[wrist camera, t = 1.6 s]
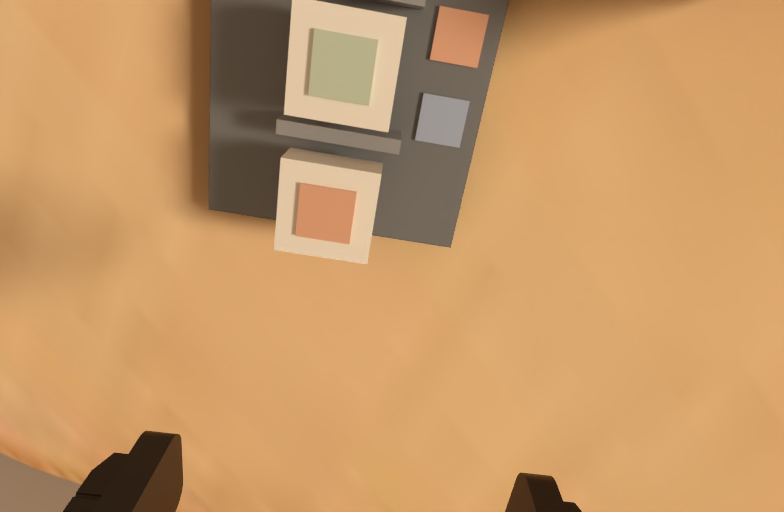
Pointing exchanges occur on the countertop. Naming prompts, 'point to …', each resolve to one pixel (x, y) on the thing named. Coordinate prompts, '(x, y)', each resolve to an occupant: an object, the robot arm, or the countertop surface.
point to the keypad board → (394, 148)
